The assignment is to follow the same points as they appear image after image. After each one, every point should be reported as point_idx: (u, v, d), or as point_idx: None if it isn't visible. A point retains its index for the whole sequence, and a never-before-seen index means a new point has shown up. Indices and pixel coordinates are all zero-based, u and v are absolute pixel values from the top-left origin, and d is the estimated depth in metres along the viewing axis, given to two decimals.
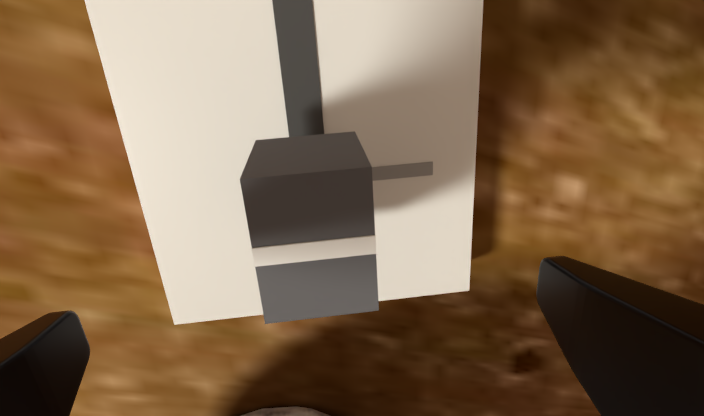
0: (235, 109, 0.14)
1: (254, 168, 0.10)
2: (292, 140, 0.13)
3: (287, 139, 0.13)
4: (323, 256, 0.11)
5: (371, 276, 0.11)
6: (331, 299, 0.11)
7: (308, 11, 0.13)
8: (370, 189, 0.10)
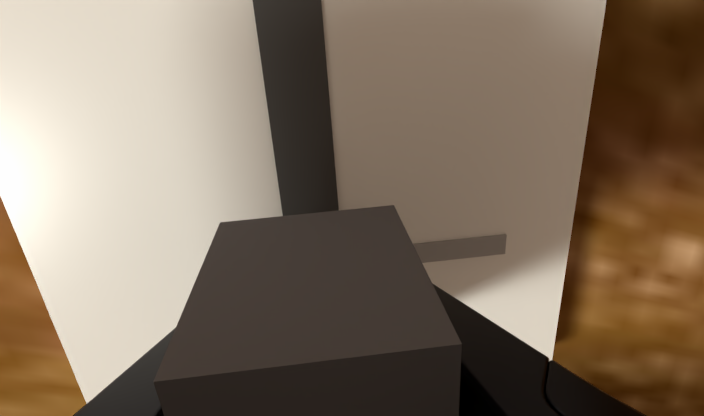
0: (191, 159, 0.09)
1: (197, 329, 0.05)
2: (284, 226, 0.07)
3: (275, 223, 0.07)
4: None
5: None
6: None
7: None
8: (455, 387, 0.05)
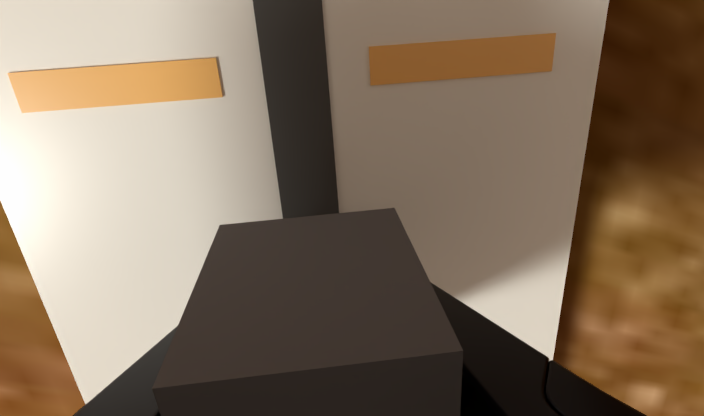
0: None
1: (196, 335, 0.05)
2: (284, 229, 0.07)
3: (275, 226, 0.07)
4: None
5: None
6: None
7: None
8: (456, 394, 0.04)
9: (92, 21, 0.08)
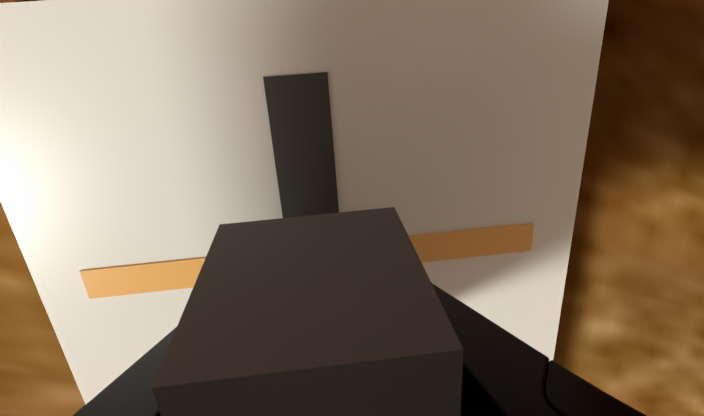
0: None
1: (196, 334, 0.05)
2: (284, 228, 0.07)
3: (275, 225, 0.07)
4: None
5: None
6: None
7: None
8: (456, 393, 0.04)
9: (150, 231, 0.09)
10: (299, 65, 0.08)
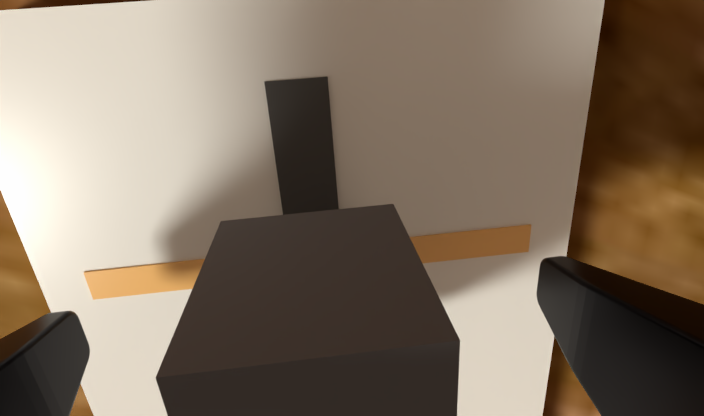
0: None
1: (198, 326, 0.05)
2: (284, 225, 0.07)
3: (275, 222, 0.07)
4: None
5: None
6: None
7: None
8: (453, 383, 0.05)
9: (153, 233, 0.09)
10: (300, 70, 0.08)
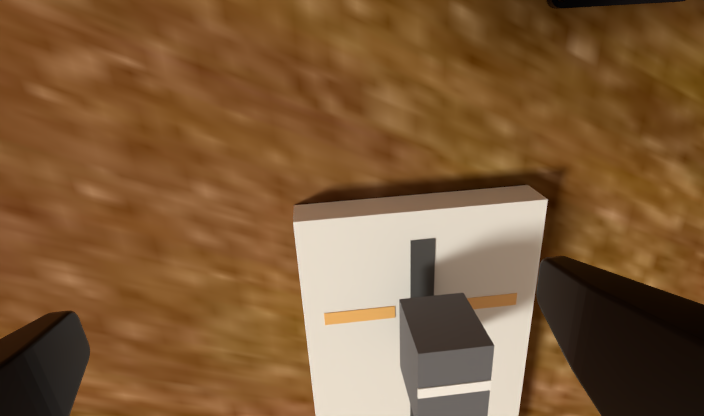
0: None
1: (420, 340, 0.17)
2: (425, 302, 0.20)
3: (421, 300, 0.20)
4: (459, 392, 0.18)
5: (485, 401, 0.18)
6: (459, 414, 0.18)
7: None
8: (492, 356, 0.17)
9: (355, 297, 0.22)
10: (424, 236, 0.21)
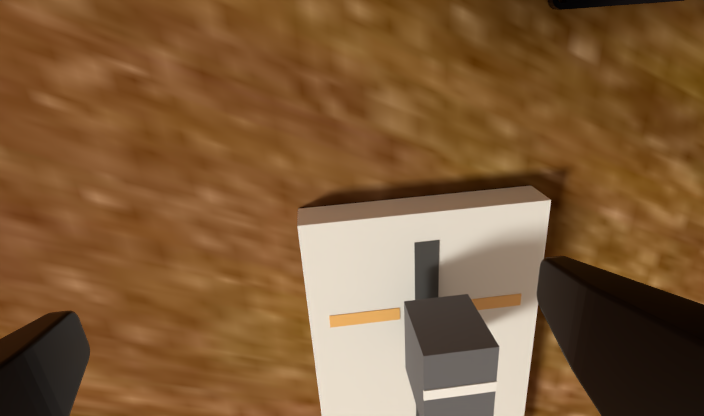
0: None
1: (425, 342, 0.17)
2: (430, 304, 0.20)
3: (426, 302, 0.20)
4: (465, 393, 0.18)
5: (491, 402, 0.18)
6: None
7: None
8: (497, 358, 0.17)
9: (360, 300, 0.22)
10: (428, 238, 0.21)
